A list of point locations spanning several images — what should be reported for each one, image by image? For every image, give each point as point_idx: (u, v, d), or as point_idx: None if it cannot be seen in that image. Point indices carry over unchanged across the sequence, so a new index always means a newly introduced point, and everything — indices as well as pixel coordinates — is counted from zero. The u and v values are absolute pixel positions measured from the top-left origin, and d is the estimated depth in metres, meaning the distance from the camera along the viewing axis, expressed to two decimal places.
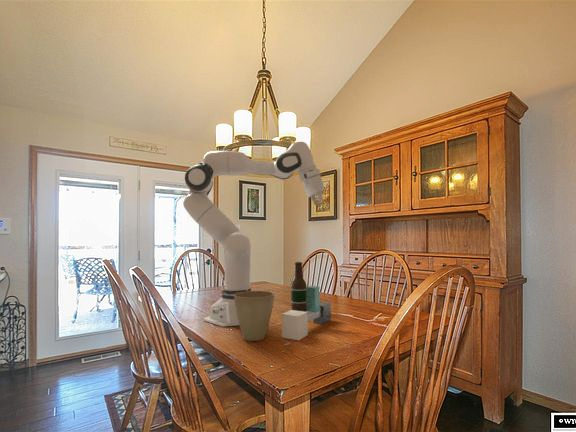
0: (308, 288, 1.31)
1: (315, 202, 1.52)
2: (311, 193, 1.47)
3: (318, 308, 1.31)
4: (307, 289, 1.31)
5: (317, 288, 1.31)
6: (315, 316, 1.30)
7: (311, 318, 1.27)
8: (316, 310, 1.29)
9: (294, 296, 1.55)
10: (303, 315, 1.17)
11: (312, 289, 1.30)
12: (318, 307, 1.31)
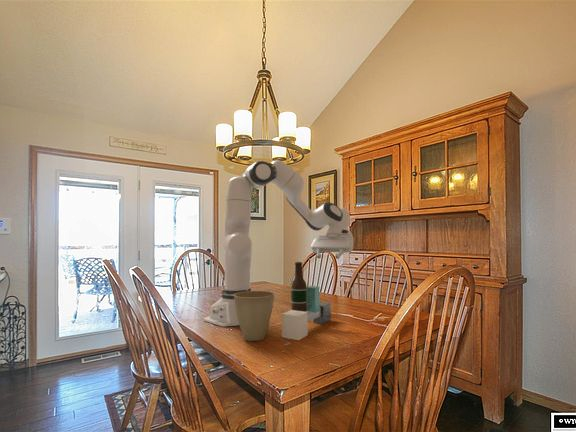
0: (308, 288, 1.31)
1: (320, 255, 1.48)
2: (330, 245, 1.48)
3: (318, 308, 1.31)
4: (307, 289, 1.31)
5: (317, 288, 1.31)
6: (315, 316, 1.30)
7: (311, 318, 1.27)
8: (316, 310, 1.29)
9: (294, 296, 1.55)
10: (303, 315, 1.17)
11: (312, 289, 1.30)
12: (318, 307, 1.31)
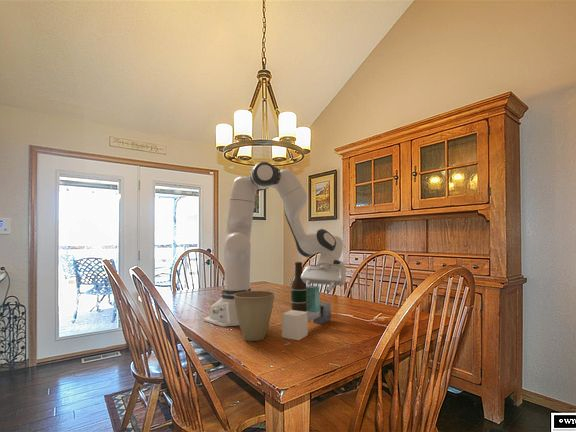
0: (308, 288, 1.31)
1: None
2: (321, 277, 1.38)
3: (318, 308, 1.31)
4: (307, 289, 1.31)
5: (317, 288, 1.31)
6: (315, 316, 1.30)
7: (311, 318, 1.27)
8: (316, 310, 1.29)
9: (294, 296, 1.55)
10: (303, 315, 1.17)
11: (312, 289, 1.30)
12: (318, 307, 1.31)
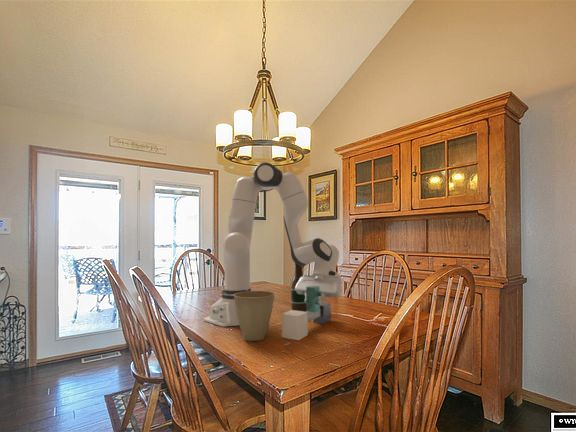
0: (308, 288, 1.31)
1: None
2: None
3: (318, 308, 1.31)
4: (307, 289, 1.31)
5: (317, 288, 1.31)
6: (315, 316, 1.30)
7: (311, 318, 1.27)
8: (316, 310, 1.29)
9: (294, 296, 1.55)
10: (303, 315, 1.17)
11: (312, 289, 1.30)
12: (318, 307, 1.31)
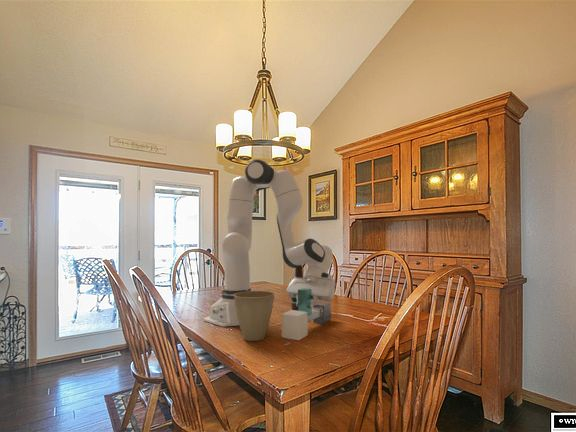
0: (300, 291, 1.25)
1: None
2: None
3: (310, 312, 1.25)
4: (299, 292, 1.25)
5: (309, 291, 1.25)
6: None
7: None
8: (308, 314, 1.23)
9: None
10: (303, 315, 1.17)
11: (304, 292, 1.24)
12: (310, 311, 1.25)
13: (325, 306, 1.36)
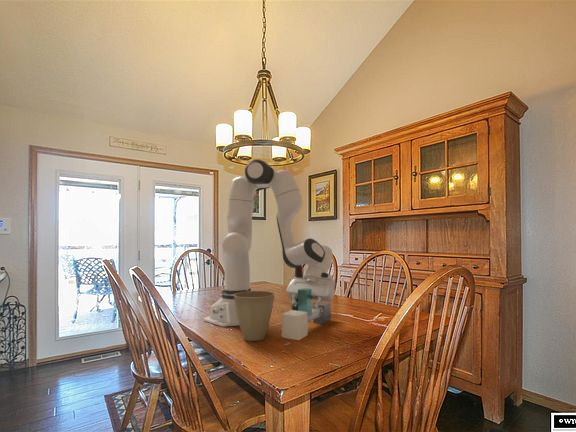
0: (300, 291, 1.25)
1: (295, 302, 1.27)
2: None
3: (310, 312, 1.25)
4: (299, 292, 1.25)
5: (309, 291, 1.25)
6: None
7: None
8: (308, 314, 1.23)
9: None
10: (303, 315, 1.17)
11: (304, 292, 1.24)
12: (310, 311, 1.25)
13: (325, 306, 1.36)
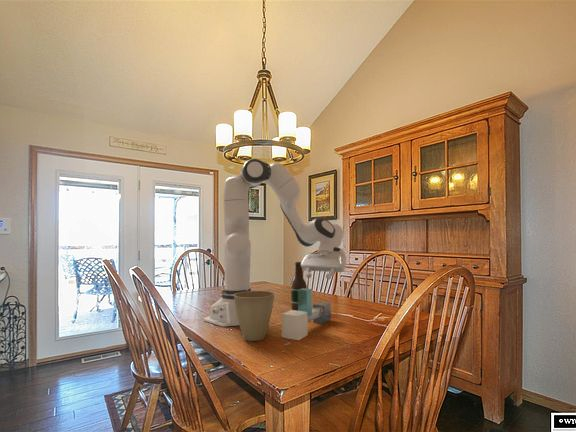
0: (300, 291, 1.25)
1: (310, 274, 1.39)
2: (320, 264, 1.38)
3: (310, 312, 1.25)
4: (299, 292, 1.25)
5: (309, 291, 1.25)
6: None
7: None
8: (308, 314, 1.23)
9: (294, 296, 1.55)
10: (303, 315, 1.17)
11: (304, 292, 1.24)
12: (310, 311, 1.25)
13: (325, 306, 1.36)
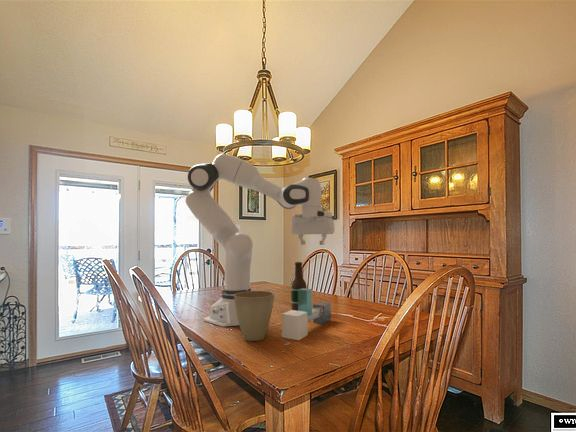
0: (300, 291, 1.25)
1: (304, 242, 1.44)
2: (310, 232, 1.40)
3: (310, 312, 1.25)
4: (299, 292, 1.25)
5: (309, 291, 1.25)
6: None
7: None
8: (308, 314, 1.23)
9: (294, 296, 1.55)
10: (303, 315, 1.17)
11: (304, 292, 1.24)
12: (310, 311, 1.25)
13: (325, 306, 1.36)
